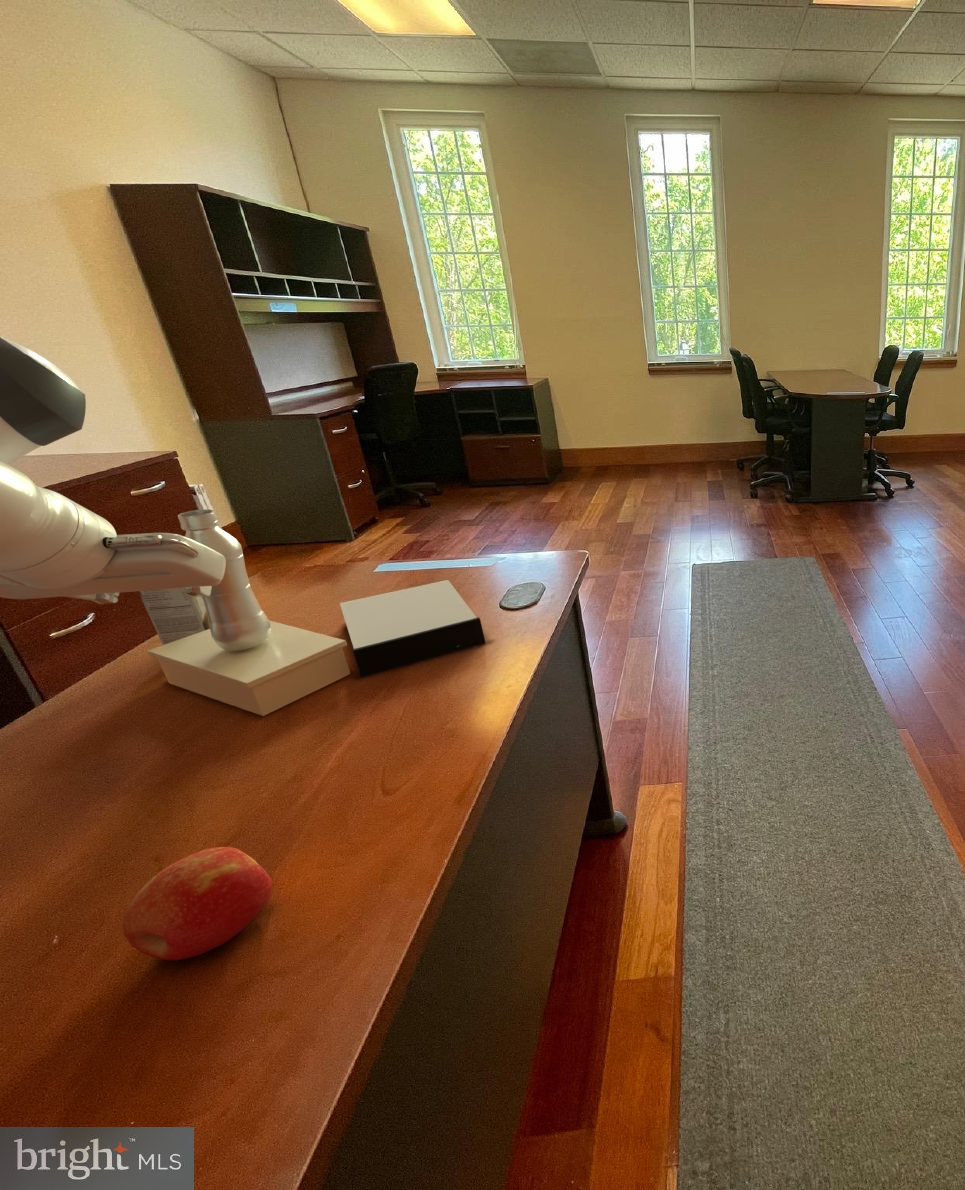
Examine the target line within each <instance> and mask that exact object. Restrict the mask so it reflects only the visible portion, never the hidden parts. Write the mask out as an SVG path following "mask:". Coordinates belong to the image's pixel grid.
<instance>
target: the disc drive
mask: <svg viewBox="0 0 965 1190" xmlns="http://www.w3.org/2000/svg"><path fill="white" fill-rule="evenodd" d="M339 605H340V608H341V611H342V616H343V618H344V621H345V624H346V628H347V631H348V635H349V638H350V641H351V644H352V653H353V656H354V659H355V662H356V665H357V668H358V671H359V675H360V677H361V678H363V677H367V676H370V675H375V674H378V673H383V672H387V671H389V670H392V669H396V668H400V667H405V666H407V665H410V664H416V663H418V662H422V661H426V660H430V659H433V658H437V657H440V656H444V655H448V654H451V653H455V652H458V651H462V650H465V649H469V648H470V649H471V648H473V647H477V646H480V645H484V644H486V638H485V635H484V630H483V625H482V620H481V618H480V617H478V616H476V614H475V612H473V610H472V609H471V608H470V607H469V605H468V604H467V603H466V600H464V599H463V597H462V595H460V593H459V592H458V591H457V590H456V588H455V587H454V586H453V585H452V582H450V580H449V579H446V580H441V581H436V582H431V583H427V584H422V585H418V586H413V587H408V588H403V589H398V590H393V591H390V592H385V593H380V594H375V595H371V596H366V597H361V598H357V599H352V600H347V601H343V602H339Z"/></svg>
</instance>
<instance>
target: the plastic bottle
mask: <svg viewBox="0 0 965 1190" xmlns="http://www.w3.org/2000/svg"><path fill="white" fill-rule="evenodd" d="M177 519H178V521H179V523H180V528H181V530H182V531H185V535H183V536H184V537H187V538H189V539H192V540H194V541H196V542H198V543H201V544H203V545H205V546H207V547H209V548H211V549H213V550H215V551H217V552H218V553H220V554H222V555H223V556H224V557H225V559H226V567H225V572H224V576H223V579H222V581H221V582H220V584H218V585H216V586H212V589H211V594H210V596H205V597H204V596H202V598H203V600H204V603H205V607H206V610H207V614H208V618H209V621H210V622H209V623H210V631H211V636H212V638H213V640H214V641H215V643H216V644H217V646H218V647H220V648H222V649H224V650H226V651H238V650H244V649H248V648H252V647H255V646H258V645H260V644H262V643H264V642H265V641H267V640H268V639H269V637H270V634H271V625H270V622H269V618H268V616H267V614H266V613H265V611H264V610H263V609H262V608H261V606H260V604H259V602H258V600H257V597H256V596H255V593H254V591H253V589H252V586H251V583H250V580H249V576H248V572H247V568H246V562H245V557H244V553H243V552H244V551H243V548H242V544H241V542H239V541H238V539H237V538H235V537H234V536H233V535H231V533H229V532H227V531H226V530H223V529H222V528H220V527H219V526H218V525H220V523H221V522H220V520H219V519H218V517H217V515H216V513H215V511H214V510H213V509H206V508H205V509H196V510H190V511H186V512H181V513H179V514H178V515H177Z"/></svg>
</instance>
